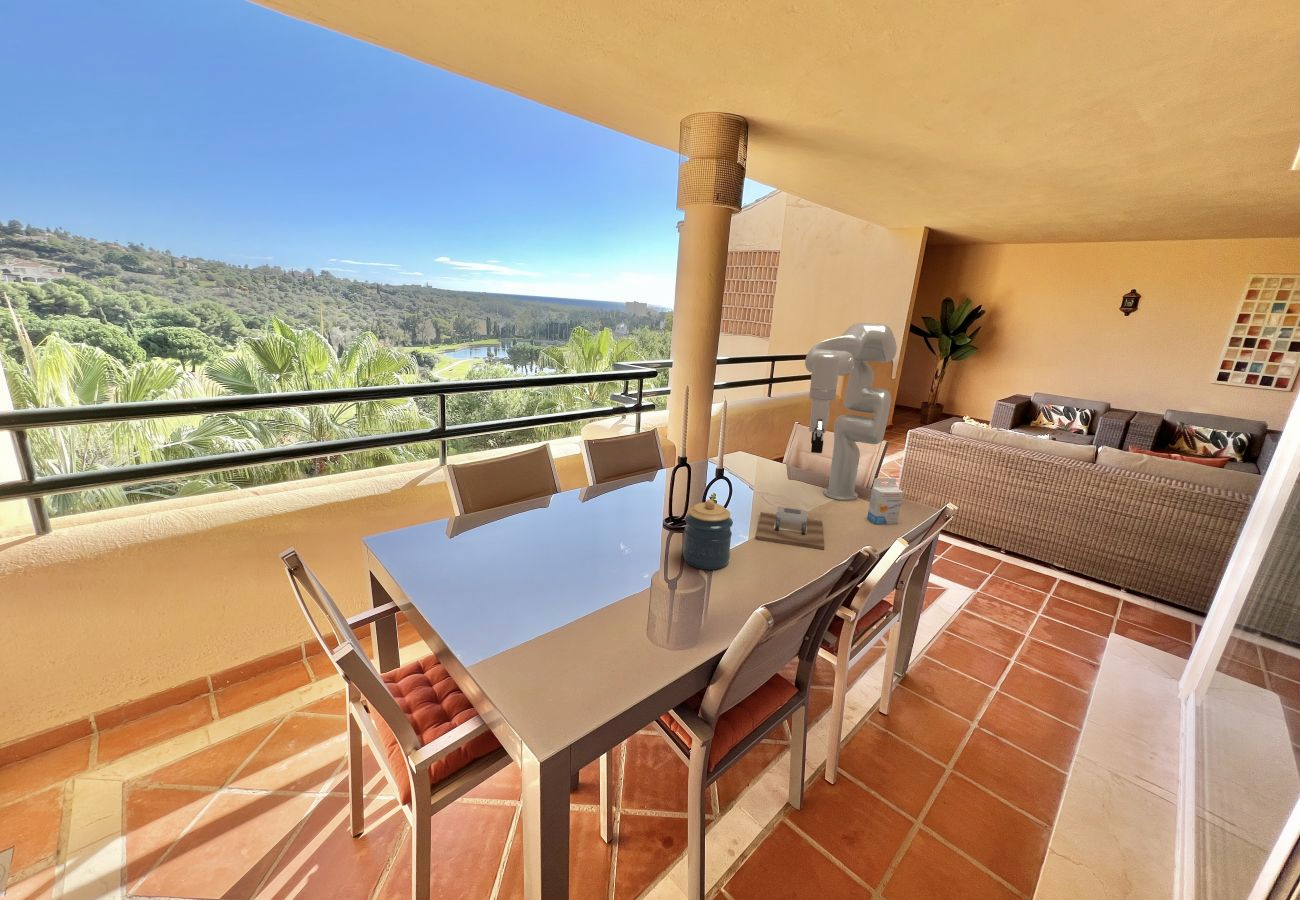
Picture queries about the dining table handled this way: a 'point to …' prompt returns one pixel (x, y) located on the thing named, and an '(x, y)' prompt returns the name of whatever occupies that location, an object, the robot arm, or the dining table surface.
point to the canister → (707, 536)
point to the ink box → (885, 502)
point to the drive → (791, 518)
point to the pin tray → (790, 532)
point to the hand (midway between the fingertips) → (816, 448)
